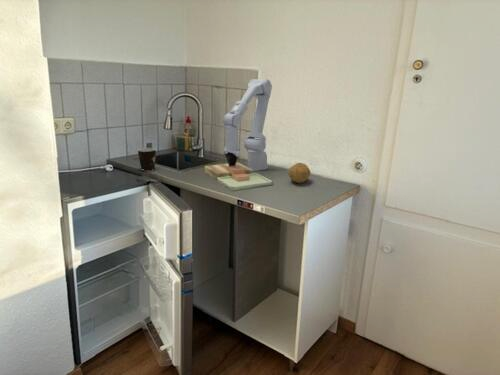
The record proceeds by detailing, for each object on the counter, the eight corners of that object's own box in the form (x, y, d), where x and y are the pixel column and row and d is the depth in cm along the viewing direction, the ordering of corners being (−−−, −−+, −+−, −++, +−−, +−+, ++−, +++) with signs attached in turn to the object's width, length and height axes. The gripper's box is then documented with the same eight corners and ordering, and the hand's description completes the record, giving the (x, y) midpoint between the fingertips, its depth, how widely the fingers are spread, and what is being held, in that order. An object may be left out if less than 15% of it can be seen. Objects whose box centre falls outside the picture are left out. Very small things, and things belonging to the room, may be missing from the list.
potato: (285, 185, 168) (286, 167, 166) (290, 177, 181) (291, 160, 179) (307, 187, 166) (308, 169, 163) (311, 178, 179) (312, 162, 176)
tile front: (243, 176, 177) (243, 172, 176) (249, 180, 172) (249, 175, 171) (231, 178, 174) (231, 174, 174) (237, 181, 169) (237, 177, 169)
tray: (255, 176, 182) (255, 172, 181) (273, 184, 168) (273, 181, 168) (216, 181, 173) (216, 177, 172) (231, 190, 159) (231, 187, 159)
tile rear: (238, 169, 181) (238, 165, 180) (244, 173, 176) (244, 168, 175) (227, 170, 178) (227, 166, 177) (232, 174, 173) (232, 170, 173)
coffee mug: (149, 166, 196) (147, 147, 194) (160, 169, 192) (159, 149, 189) (130, 170, 187) (128, 150, 184) (141, 173, 183) (140, 153, 180)
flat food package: (237, 168, 196) (237, 162, 195) (252, 175, 182) (252, 169, 181) (204, 172, 187) (204, 166, 186) (217, 180, 174) (217, 173, 173)
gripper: (217, 137, 181) (218, 165, 185) (230, 143, 168) (230, 173, 172) (231, 137, 184) (231, 164, 188) (245, 142, 171) (244, 171, 175)
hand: (231, 168), depth 180 cm, fingers closed
